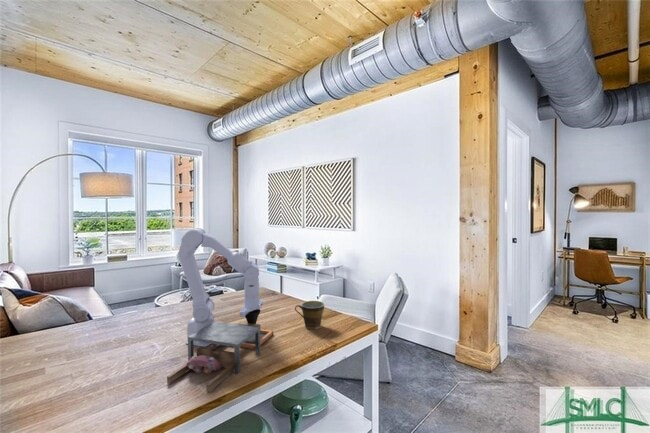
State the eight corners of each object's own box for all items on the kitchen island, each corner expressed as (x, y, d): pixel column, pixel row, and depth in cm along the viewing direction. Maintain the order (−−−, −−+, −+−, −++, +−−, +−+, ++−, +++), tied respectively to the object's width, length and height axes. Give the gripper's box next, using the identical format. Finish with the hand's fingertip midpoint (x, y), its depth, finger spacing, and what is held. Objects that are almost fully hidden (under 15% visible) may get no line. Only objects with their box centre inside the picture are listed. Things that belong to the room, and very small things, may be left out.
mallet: (167, 383, 91) (166, 362, 90) (234, 336, 123) (233, 321, 123) (209, 392, 86) (209, 370, 86) (267, 341, 118) (267, 325, 118)
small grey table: (188, 364, 101) (187, 336, 101) (215, 346, 115) (214, 321, 114) (237, 374, 96) (237, 344, 95) (260, 353, 109) (259, 327, 109)
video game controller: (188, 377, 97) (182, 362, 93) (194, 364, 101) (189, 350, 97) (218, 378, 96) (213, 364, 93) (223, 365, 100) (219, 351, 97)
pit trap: (225, 345, 116) (225, 341, 116) (245, 330, 129) (245, 327, 129) (255, 349, 112) (255, 345, 112) (273, 334, 125) (273, 330, 125)
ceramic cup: (325, 323, 138) (325, 301, 137) (323, 332, 128) (323, 308, 127) (297, 321, 139) (297, 300, 139) (292, 330, 129) (292, 307, 129)
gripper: (251, 301, 113) (251, 337, 114) (269, 290, 127) (269, 322, 128) (234, 299, 115) (234, 334, 116) (254, 289, 129) (254, 320, 130)
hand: (252, 328), depth 122 cm, fingers closed
